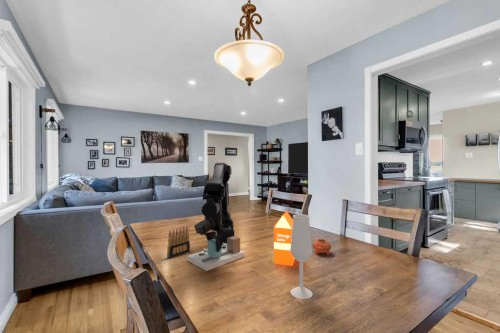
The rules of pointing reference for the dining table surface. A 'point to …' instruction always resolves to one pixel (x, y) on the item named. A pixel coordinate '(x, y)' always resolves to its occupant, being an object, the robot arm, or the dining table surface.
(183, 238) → the ammunition clip
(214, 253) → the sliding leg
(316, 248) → the pot
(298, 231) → the champagne flute
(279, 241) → the orange juice
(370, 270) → the dining table surface
